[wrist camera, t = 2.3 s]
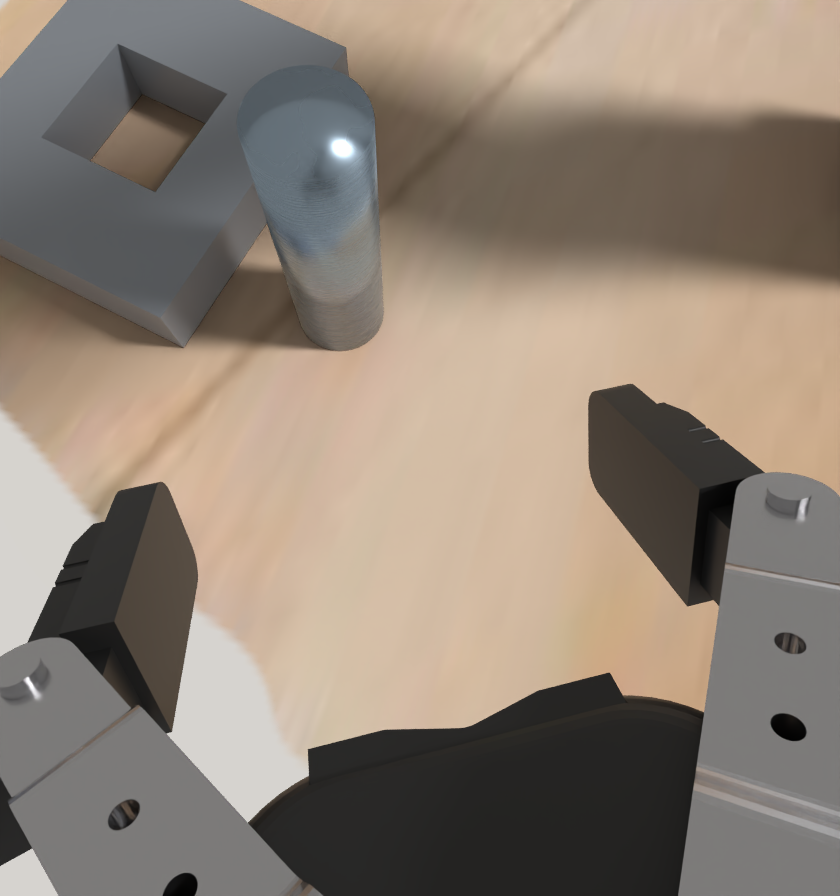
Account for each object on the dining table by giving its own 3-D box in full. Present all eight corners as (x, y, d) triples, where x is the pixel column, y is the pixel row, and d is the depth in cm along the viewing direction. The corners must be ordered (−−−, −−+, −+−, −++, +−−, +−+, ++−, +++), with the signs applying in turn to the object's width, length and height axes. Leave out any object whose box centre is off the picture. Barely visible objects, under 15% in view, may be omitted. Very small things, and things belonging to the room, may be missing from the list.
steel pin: (324, 260, 31) (281, 45, 19) (398, 295, 31) (398, 98, 19) (282, 327, 30) (210, 143, 18) (358, 365, 30) (332, 200, 18)
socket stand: (138, 1, 35) (115, -55, 32) (350, 97, 34) (346, 47, 31) (-50, 230, 31) (-96, 189, 28) (183, 347, 30) (160, 317, 27)
